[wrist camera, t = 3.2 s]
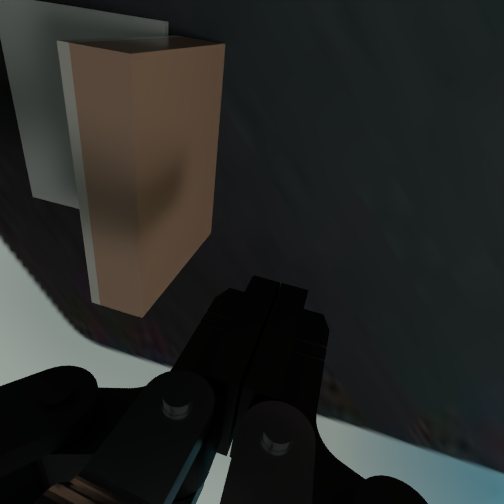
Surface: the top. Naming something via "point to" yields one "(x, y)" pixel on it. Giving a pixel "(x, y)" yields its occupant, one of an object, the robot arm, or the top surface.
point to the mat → (53, 81)
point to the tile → (142, 157)
